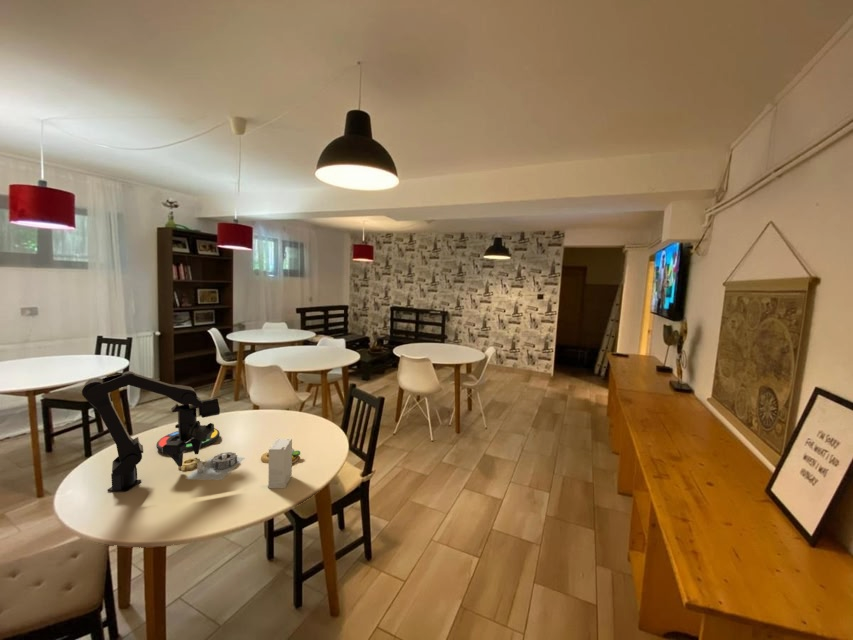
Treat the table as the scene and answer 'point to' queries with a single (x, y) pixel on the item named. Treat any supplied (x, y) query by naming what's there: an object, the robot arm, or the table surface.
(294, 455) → the toy food set
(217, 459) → the gear
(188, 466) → the brass gear
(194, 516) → the table surface
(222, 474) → the gear board
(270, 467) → the skincare box
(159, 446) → the electronic game
